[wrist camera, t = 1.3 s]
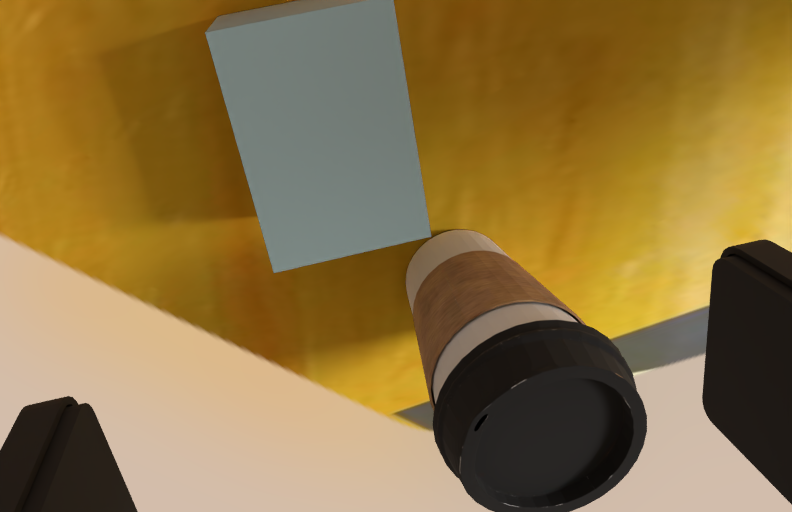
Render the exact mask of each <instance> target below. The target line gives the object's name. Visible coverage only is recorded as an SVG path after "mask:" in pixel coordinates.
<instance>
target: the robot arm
mask: <svg viewBox="0 0 792 512" xmlns="http://www.w3.org/2000/svg"><path fill="white" fill-rule="evenodd" d="M702 398H703V405H704V410H705V412H706V414H707V416H708V418H709V419H710V421H711V422H712V423H713V424H714V425H715V426H716V427H717V428H718V429H719V430H720V431H721V432H722V433H723V434H724V435H725V437H726V438H728V440H729V441H730V442H731V443H732V444H733V445H734V446H735V447H736V448H737V449H738V450H739V451H740V452H741V453H742V454H743V455H744V456H745V457H746V458H747V459H748V460H749V461H750V462H751V463H752V464H753V465H754V466H755V467H756V468H757V469H758V470H759V471H760V472H761V473H762V474H763V475H764V476H765V478H767V479H768V481H769V482H770V483H771V484H772V485H773V486H774V487H775V488H776V489H777V490H778V491H779V492H780V493H781V494H782V495H783V496H784V497H785V498H786V499H787V500H788V501H789V502H790V503H791V504H792V253H791V252H789V251H788V250H786V249H784V248H782V247H780V246H779V245H777V244H775V243H773V242H771V241H768V240H758V241H754V242H749V243H745V244H741V245H736V246H732V247H728V248H727V249H725V250H724V251H723V253H722V255H721V258H720V259H718V260H717V261H715V263H714V265H713V269H712V281H711V294H710V307H709V320H708V332H707V345H706V358H705V372H704V385H703V397H702ZM0 512H137V509H136V507H135V505H134V502H133V500H132V498H131V495H130V493H129V491H128V488H127V486H126V484H125V482H124V479H123V477H122V475H121V472H120V470H119V468H118V466H117V463H116V461H115V459H114V456H113V454H112V452H111V449H110V447H109V445H108V442H107V440H106V438H105V435H104V433H103V431H102V429H101V426H100V424H99V422H98V420H97V417H96V415H95V413H94V411H93V409H92V407H91V406H90V405H89V404H87V403H84V404H80V405H78V403H77V401H76V400H75V399H74V398H73V397H69V396H67V397H63V398H59V399H54V400H50V401H45V402H41V403H36V404H32V405H28V406H25V407H24V408H23V409H22V410H21V412H20V413H19V415H18V417H17V419H16V421H15V423H14V425H13V427H12V429H11V431H10V433H9V435H8V437H7V439H6V440H5V442H4V444H3V446H2V448H1V450H0Z"/></svg>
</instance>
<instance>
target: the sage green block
mask: <svg viewBox="0 0 792 512" xmlns="http://www.w3.org/2000/svg"><path fill="white" fill-rule="evenodd" d="M205 34H206V38H207V41H208V45H209V48H210V52H211V55H212V59H213V62H214V66H215V69H216V73H217V76H218V80H219V83H220V87H221V90H222V94H223V97H224V101H225V104H226V108H227V111H228V115H229V118H230V122H231V125H232V129H233V132H234V136H235V139H236V143H237V146H238V150H239V153H240V157H241V160H242V164H243V167H244V171H245V174H246V178H247V181H248V185H249V188H250V192H251V195H252V199H253V202H254V206H255V209H256V213H257V216H258V220H259V223H260V227H261V230H262V234H263V237H264V241H265V244H266V248H267V251H268V255H269V258H270V262H271V265H272V269H273V272H274V273H277V272H281V271H286V270H290V269H294V268H298V267H303V266H307V265H311V264H316V263H320V262H324V261H329V260H333V259H337V258H342V257H346V256H350V255H354V254H359V253H363V252H367V251H372V250H376V249H380V248H385V247H389V246H393V245H398V244H402V243H406V242H410V241H415V240H419V239H423V238H428V237H431V231H430V225H429V219H428V213H427V206H426V200H425V194H424V188H423V181H422V175H421V169H420V163H419V156H418V150H417V144H416V138H415V131H414V125H413V119H412V113H411V106H410V100H409V94H408V88H407V81H406V75H405V69H404V63H403V57H402V50H401V44H400V38H399V32H398V25H397V19H396V13H395V7H394V0H297V1H292V2H287V3H282V4H277V5H272V6H267V7H262V8H257V9H252V10H246V11H241V12H236V13H231V14H226V15H221V16H218V17H217V18H216V19H215V21H214V22H213V23H212V24H211V26H210V27H209V28H208V30H207V31H206V32H205Z"/></svg>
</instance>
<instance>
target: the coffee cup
mask: <svg viewBox="0 0 792 512" xmlns="http://www.w3.org/2000/svg"><path fill="white" fill-rule="evenodd" d="M406 289H407V295H408V299H409V303H410V307H411V311H412V315H413V320H414V326H415V331H416V335H417V340H418V345H419V350H420V355H421V359H422V364H423V369H424V374H425V378H426V383H427V388H428V393H429V398H430V402H431V405H432V408H433V410H434V417H433V430H434V436H435V442H436V444H437V446H438V448H439V450H440V453H441V455H442V456H443V459H444V461H445V463H446V465H447V466H448V467H449V468H450V470H451V471H452V472H453V473H454V474H455V476H456V477H458V478H459V479H460V481H461V482H462V484H463V486H464V488H465V490H466V492H467V493H468V494H469V495H470V496H471V497H472V498H473V499H474V500H475V501H476V502H477V503H479V504H480V505H482V506H484V507H485V508H487V509H489V510H492V511H494V512H570V511H572V510H575V509H577V508H580V507H582V506H585V505H587V504H589V503H591V502H592V501H594V500H596V499H598V498H600V497H601V496H603V495H604V494H605V493H607V492H608V491H609V490H611V489H612V488H613V487H615V486H616V485H617V484H618V483H619V482H620V481H621V480H622V479H623V478H624V476H626V475H627V473H628V472H629V471H630V469H631V468H632V466H633V465H634V463H635V462H636V461H637V459H638V456H639V454H640V452H641V449H642V447H643V445H644V440H645V436H646V432H647V415H646V412H645V408H644V405H643V402H642V400H641V398H640V396H639V394H638V392H637V390H636V385H635V382H634V378H633V374H632V372H631V370H630V368H629V366H628V365H627V363H626V361H625V359H624V358H623V357H622V355H621V353H620V351H619V349H618V348H617V347H616V346H615V345H614V344H613V343H612V342H611V341H610V340H609V338H608V337H606V336H605V335H603V334H602V333H600V332H599V331H597V330H595V329H594V328H592V327H589V326H586V324H585V323H584V322H583V321H582V320H581V319H580V318H579V317H578V316H577V315H576V314H575V313H574V312H573V311H572V310H570V309H569V308H568V307H567V306H566V305H565V304H564V303H562V302H561V301H560V300H559V299H558V298H557V297H555V296H554V295H553V294H552V293H551V292H550V291H549V290H547V289H546V288H545V287H544V286H543V285H542V284H541V283H539V282H538V281H537V280H536V279H535V278H534V277H533V276H531V275H530V274H529V273H528V272H527V271H526V270H525V269H523V268H522V267H521V266H520V265H519V264H518V263H516V262H515V261H514V260H512V259H511V258H510V257H509V256H508V255H507V254H506V253H505V252H504V251H503V250H502V249H501V248H500V247H499V246H497V245H496V244H495V243H494V242H493V241H492V240H491V239H489V238H488V237H486V236H485V235H483V234H480V233H478V232H475V231H470V230H452V231H447V232H444V233H441V234H439V235H437V236H435V237H433V238H431V239H430V240H428V241H427V242H426V243H424V244H423V245H422V246H421V247H420V248H419V249H418V250H417V252H416V253H415V254H414V256H413V257H412V259H411V261H410V263H409V266H408V269H407V273H406Z"/></svg>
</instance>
